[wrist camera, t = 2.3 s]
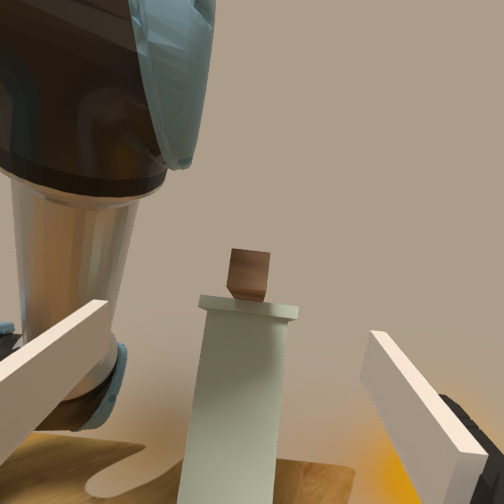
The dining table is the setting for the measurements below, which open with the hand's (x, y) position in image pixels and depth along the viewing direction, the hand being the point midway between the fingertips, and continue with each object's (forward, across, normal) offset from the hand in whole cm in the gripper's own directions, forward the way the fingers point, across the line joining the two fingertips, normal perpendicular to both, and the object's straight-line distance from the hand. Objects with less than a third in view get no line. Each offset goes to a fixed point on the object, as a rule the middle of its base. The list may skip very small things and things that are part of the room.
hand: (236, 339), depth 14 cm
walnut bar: (+22, 0, -7) cm, 23 cm away
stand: (+10, 0, -35) cm, 37 cm away
